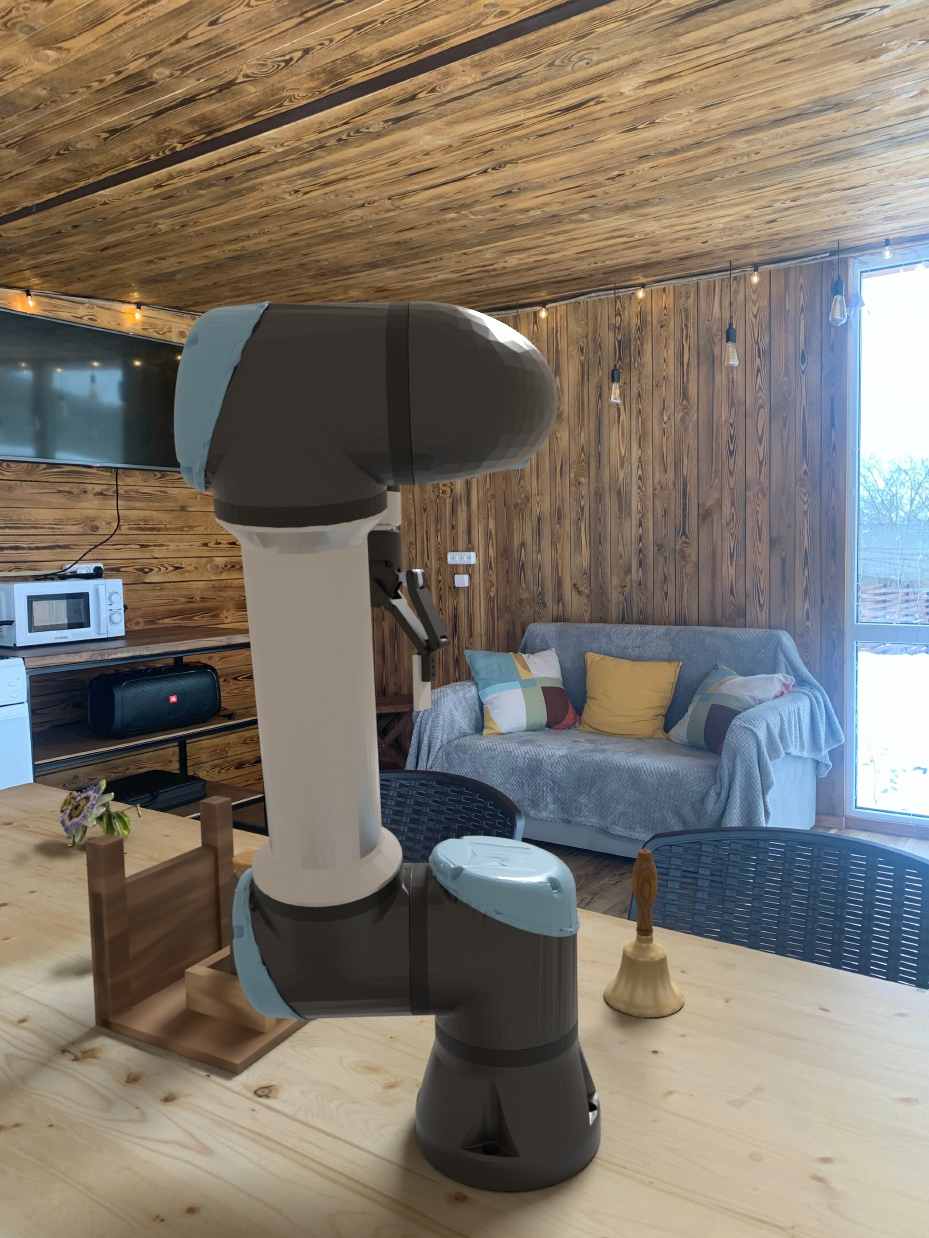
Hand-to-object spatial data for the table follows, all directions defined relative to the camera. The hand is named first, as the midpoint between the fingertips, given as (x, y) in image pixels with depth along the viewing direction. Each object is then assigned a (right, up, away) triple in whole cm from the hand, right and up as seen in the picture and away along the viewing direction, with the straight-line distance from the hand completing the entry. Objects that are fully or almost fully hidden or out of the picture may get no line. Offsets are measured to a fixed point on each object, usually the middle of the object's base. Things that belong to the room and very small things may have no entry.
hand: (374, 705), depth 111 cm
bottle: (-10, -29, -15) cm, 34 cm away
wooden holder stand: (-13, -30, -15) cm, 36 cm away
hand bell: (+30, -29, -15) cm, 44 cm away
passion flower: (-49, -26, +40) cm, 68 cm away
